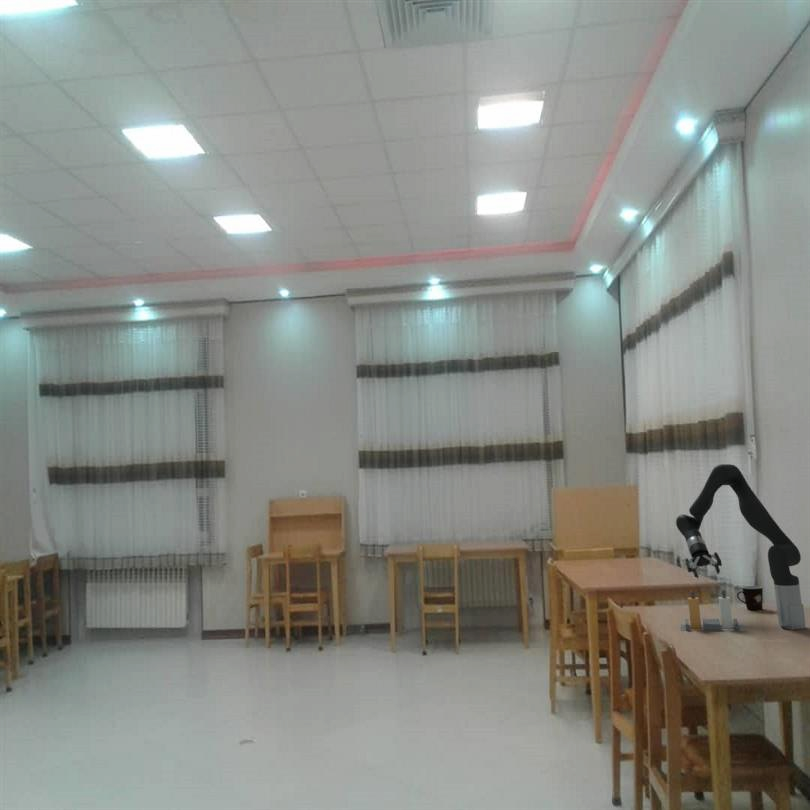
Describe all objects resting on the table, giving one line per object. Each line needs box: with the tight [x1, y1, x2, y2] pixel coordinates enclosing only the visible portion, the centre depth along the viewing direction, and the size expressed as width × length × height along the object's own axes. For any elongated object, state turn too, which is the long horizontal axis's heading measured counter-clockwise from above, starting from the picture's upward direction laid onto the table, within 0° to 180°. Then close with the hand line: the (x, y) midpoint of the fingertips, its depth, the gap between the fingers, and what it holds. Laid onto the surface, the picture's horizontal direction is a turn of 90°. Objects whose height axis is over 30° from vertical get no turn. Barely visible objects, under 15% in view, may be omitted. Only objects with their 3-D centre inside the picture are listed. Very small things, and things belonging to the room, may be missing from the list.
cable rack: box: [680, 618, 745, 632], centre depth 310 cm, size 24×12×4 cm, turn 70°
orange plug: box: [687, 590, 702, 629], centre depth 313 cm, size 4×4×15 cm
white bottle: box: [718, 589, 734, 629], centre depth 309 cm, size 4×4×15 cm
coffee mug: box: [736, 585, 764, 612], centre depth 346 cm, size 12×9×10 cm
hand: (707, 574), depth 324 cm, fingers open, 8 cm apart
